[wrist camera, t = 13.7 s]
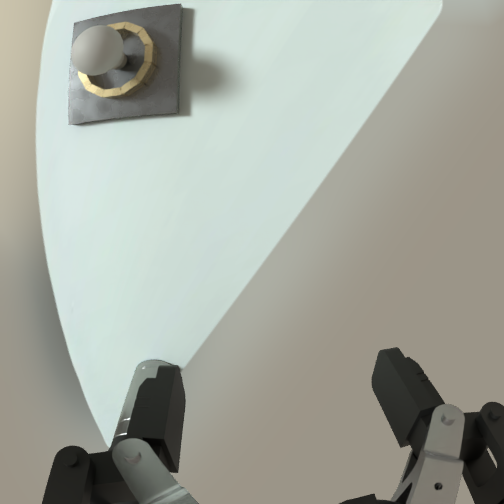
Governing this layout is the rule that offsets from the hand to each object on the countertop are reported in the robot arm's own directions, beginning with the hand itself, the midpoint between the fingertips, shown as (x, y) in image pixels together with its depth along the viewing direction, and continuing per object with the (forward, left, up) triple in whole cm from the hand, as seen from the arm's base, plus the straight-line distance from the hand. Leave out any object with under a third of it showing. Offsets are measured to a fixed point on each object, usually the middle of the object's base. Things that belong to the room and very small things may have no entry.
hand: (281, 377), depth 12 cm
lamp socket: (+20, +17, -34) cm, 43 cm away
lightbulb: (+19, +17, -33) cm, 42 cm away
